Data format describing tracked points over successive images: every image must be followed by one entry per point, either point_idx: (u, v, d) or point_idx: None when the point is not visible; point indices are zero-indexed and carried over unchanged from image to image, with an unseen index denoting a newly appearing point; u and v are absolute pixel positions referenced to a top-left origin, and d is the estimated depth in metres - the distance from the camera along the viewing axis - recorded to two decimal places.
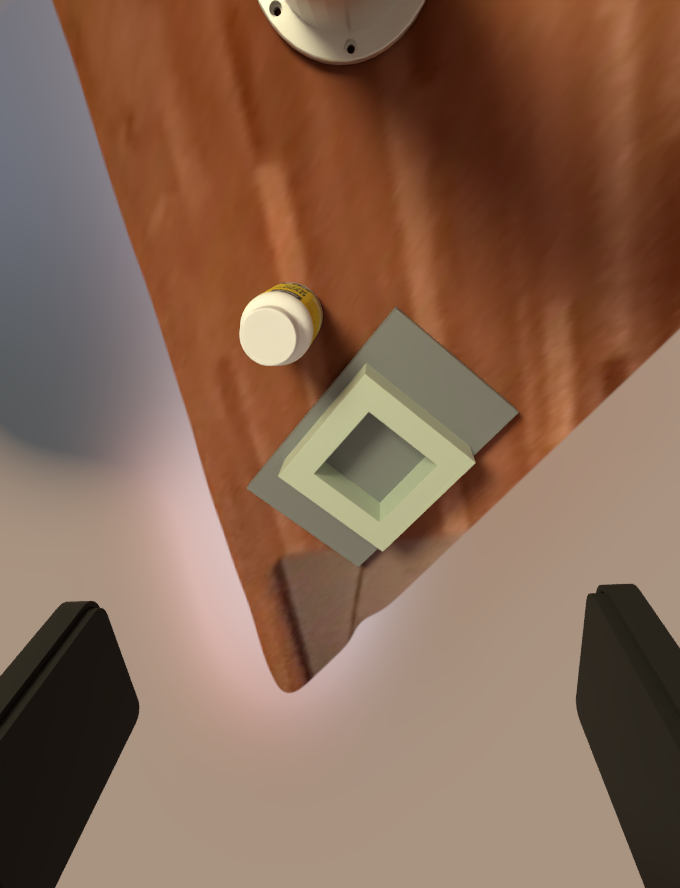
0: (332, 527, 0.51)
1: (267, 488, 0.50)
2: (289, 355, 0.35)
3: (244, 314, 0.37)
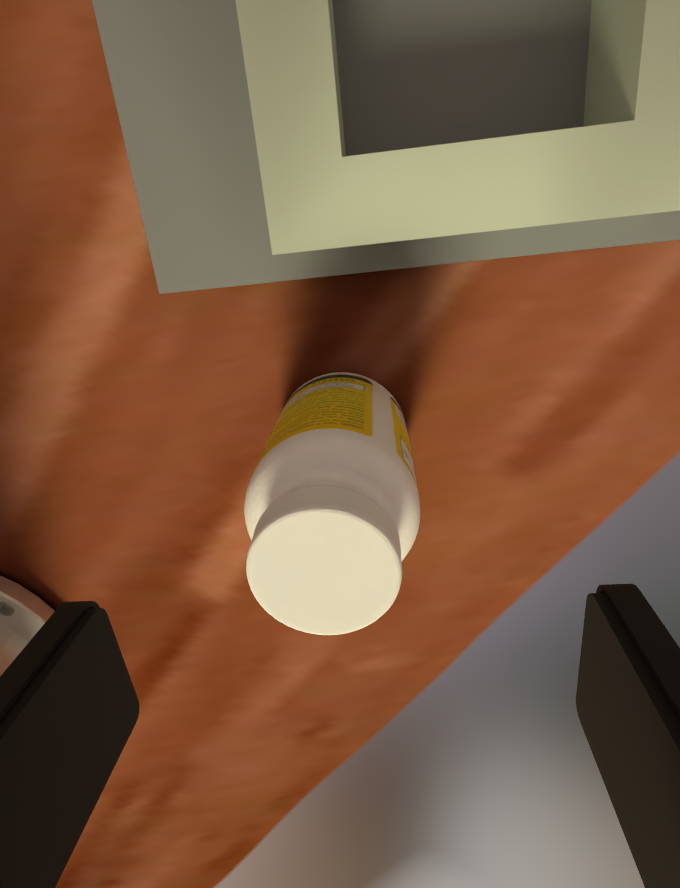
0: None
1: None
2: (315, 511, 0.12)
3: None
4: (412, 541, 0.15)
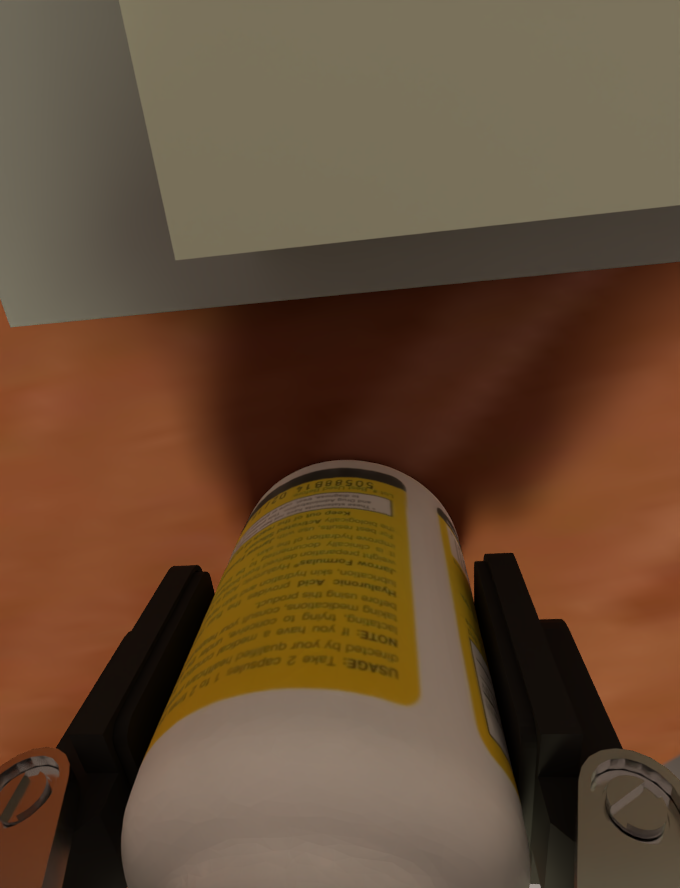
0: None
1: None
2: None
3: None
4: None
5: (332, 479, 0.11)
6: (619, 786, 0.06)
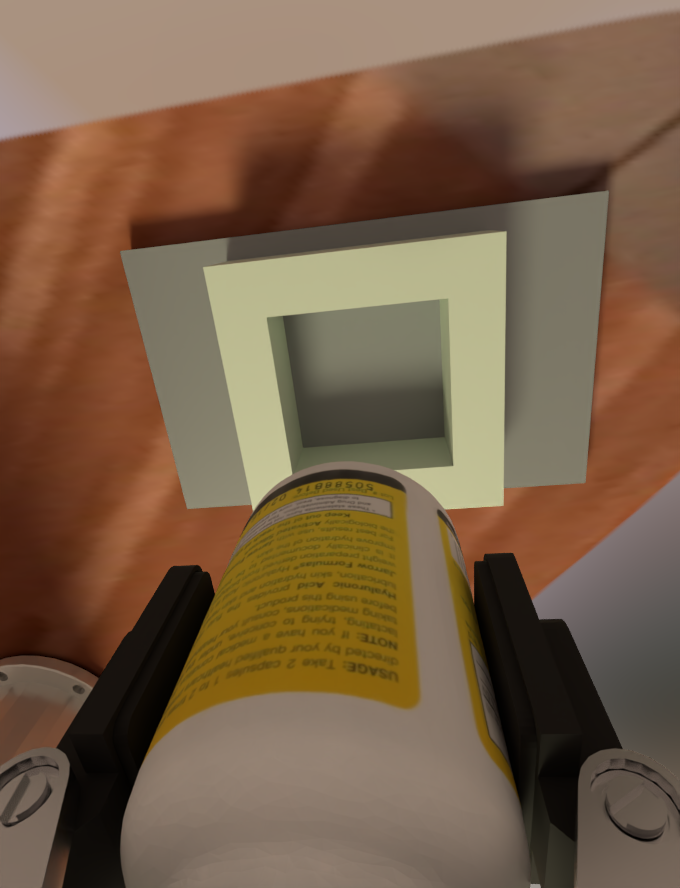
0: (554, 313, 0.24)
1: (560, 458, 0.27)
2: None
3: None
4: None
5: (332, 481, 0.11)
6: (619, 786, 0.06)
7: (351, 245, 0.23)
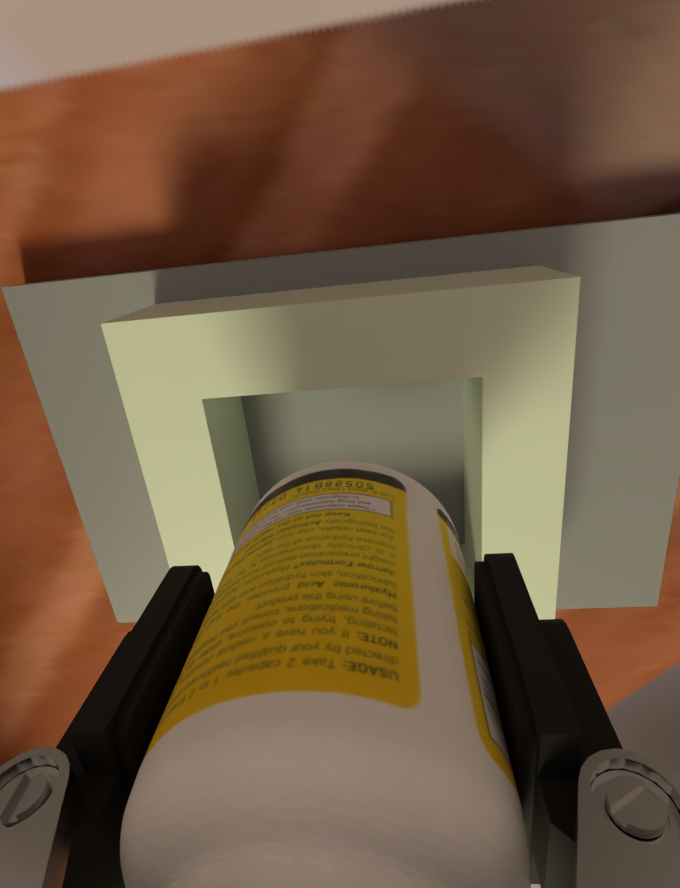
0: (629, 385, 0.16)
1: (625, 574, 0.19)
2: None
3: None
4: None
5: (332, 480, 0.11)
6: (619, 786, 0.06)
7: (335, 284, 0.16)
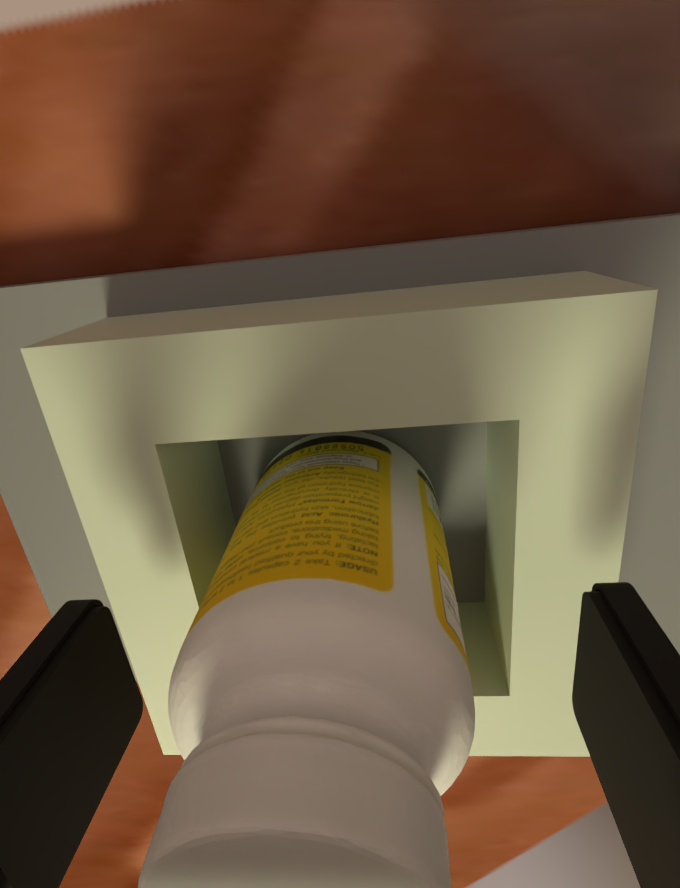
0: None
1: (676, 638, 0.16)
2: (271, 834, 0.06)
3: None
4: None
5: (329, 443, 0.13)
6: None
7: (328, 294, 0.13)
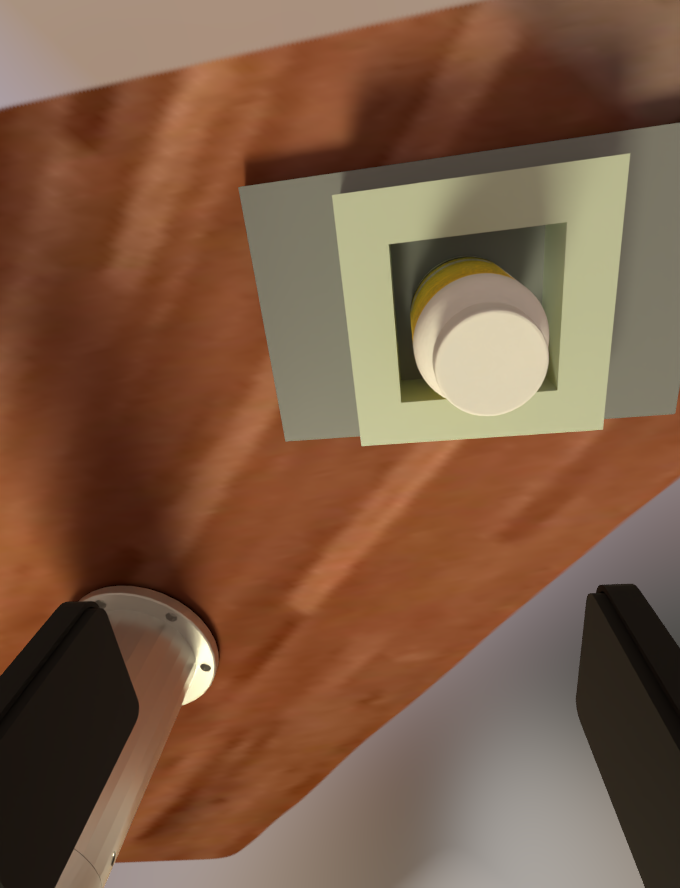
0: (658, 243, 0.25)
1: (652, 389, 0.28)
2: (492, 312, 0.17)
3: None
4: None
5: (462, 257, 0.25)
6: None
7: (462, 177, 0.24)
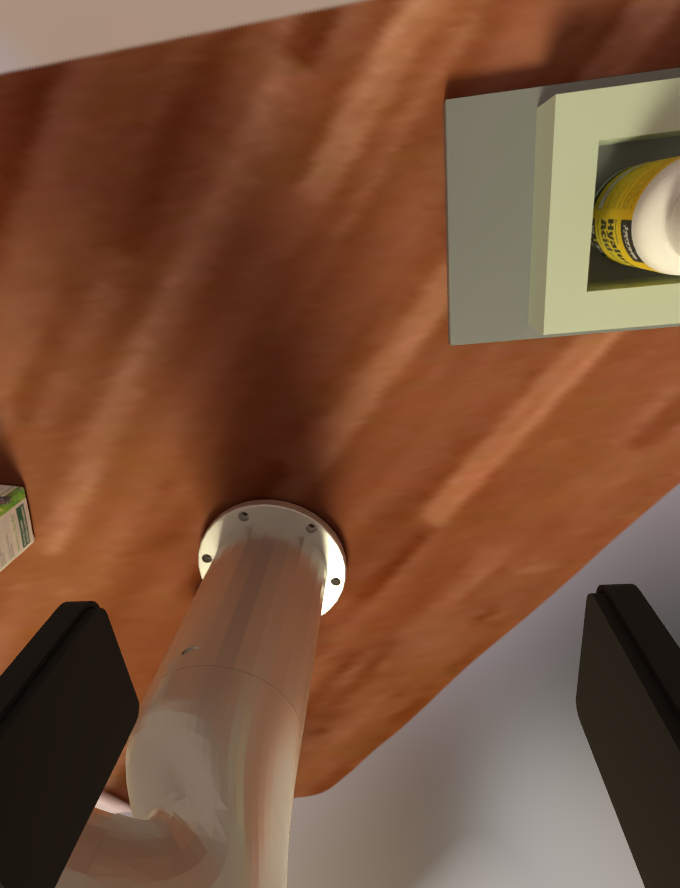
0: None
1: None
2: None
3: None
4: None
5: (646, 162, 0.28)
6: None
7: None
